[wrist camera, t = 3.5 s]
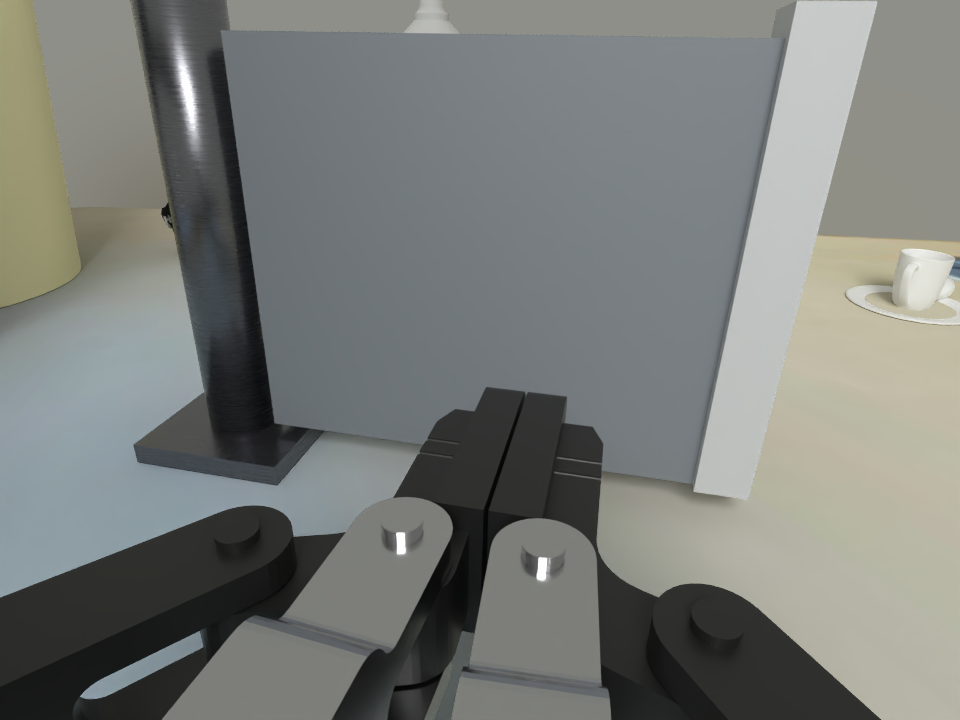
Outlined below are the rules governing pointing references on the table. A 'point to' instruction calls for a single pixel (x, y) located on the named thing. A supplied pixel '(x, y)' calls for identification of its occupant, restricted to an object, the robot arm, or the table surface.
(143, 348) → the table surface
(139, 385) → the table surface
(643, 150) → the gate
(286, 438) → the gate post
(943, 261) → the teacup and saucer
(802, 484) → the table surface
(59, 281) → the cone light
